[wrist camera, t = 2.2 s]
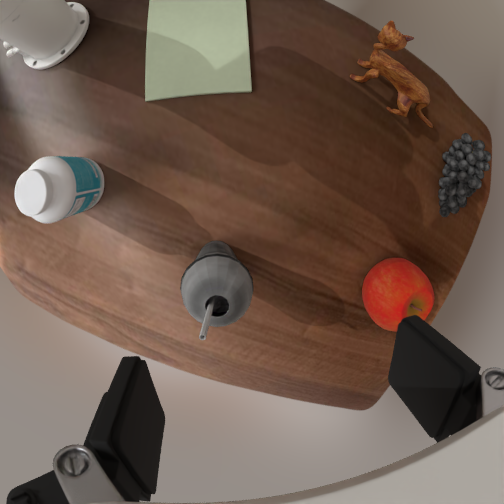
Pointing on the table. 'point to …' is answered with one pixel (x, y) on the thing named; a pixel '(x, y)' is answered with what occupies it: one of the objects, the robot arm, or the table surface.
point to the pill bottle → (59, 188)
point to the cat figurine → (396, 73)
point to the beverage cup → (216, 287)
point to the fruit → (462, 173)
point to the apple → (396, 292)
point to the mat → (196, 48)
